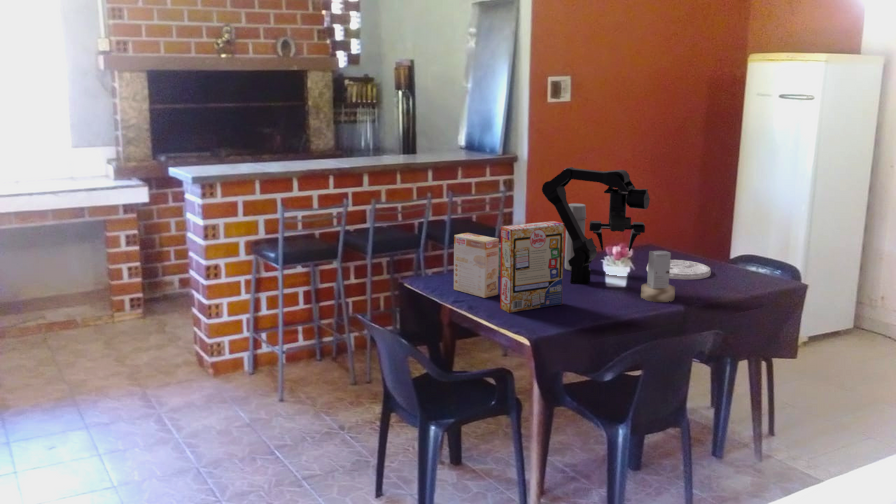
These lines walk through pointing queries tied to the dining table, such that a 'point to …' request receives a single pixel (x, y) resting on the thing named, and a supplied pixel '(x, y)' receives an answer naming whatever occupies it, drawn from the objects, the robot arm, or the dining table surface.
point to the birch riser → (658, 293)
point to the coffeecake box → (476, 264)
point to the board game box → (531, 266)
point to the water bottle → (580, 216)
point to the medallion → (687, 270)
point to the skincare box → (658, 269)
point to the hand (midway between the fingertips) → (615, 250)
